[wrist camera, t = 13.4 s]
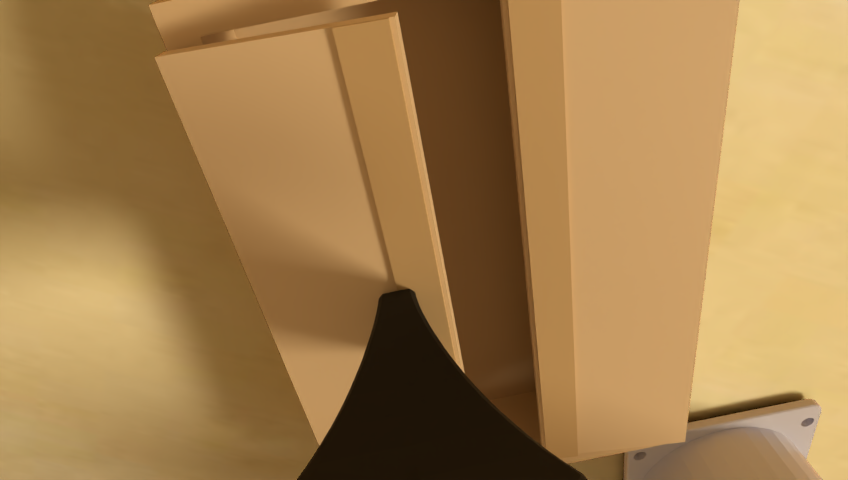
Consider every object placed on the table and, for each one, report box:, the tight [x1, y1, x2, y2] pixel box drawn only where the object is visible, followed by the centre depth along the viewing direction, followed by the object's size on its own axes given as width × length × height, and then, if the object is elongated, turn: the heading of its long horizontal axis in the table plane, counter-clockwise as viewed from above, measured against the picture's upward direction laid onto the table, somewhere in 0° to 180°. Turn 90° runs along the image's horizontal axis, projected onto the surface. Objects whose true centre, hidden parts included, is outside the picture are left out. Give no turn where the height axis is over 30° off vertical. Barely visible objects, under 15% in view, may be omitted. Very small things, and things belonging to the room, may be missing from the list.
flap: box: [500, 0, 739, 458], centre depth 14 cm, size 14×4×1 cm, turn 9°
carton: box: [148, 0, 664, 464], centre depth 16 cm, size 16×11×3 cm
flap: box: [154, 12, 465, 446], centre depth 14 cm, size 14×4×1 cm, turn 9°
